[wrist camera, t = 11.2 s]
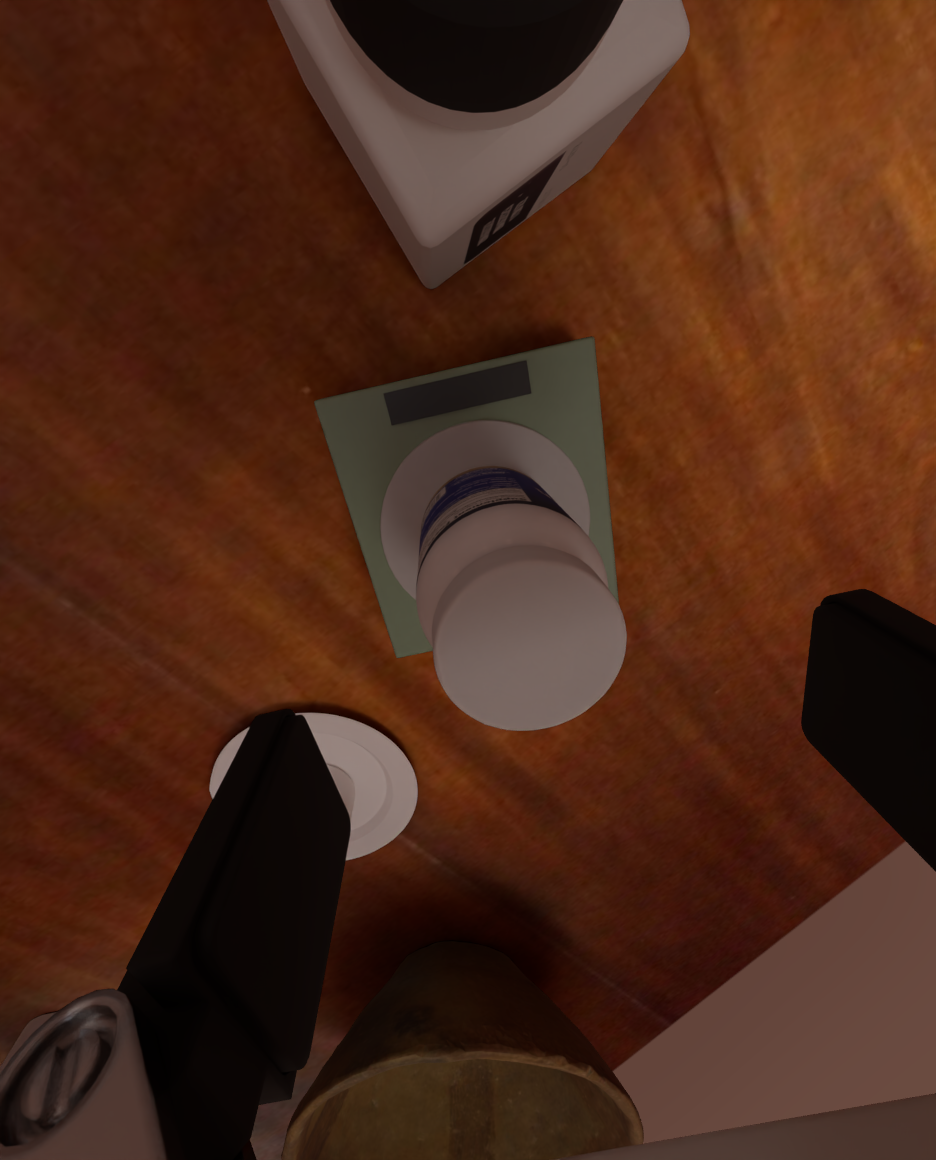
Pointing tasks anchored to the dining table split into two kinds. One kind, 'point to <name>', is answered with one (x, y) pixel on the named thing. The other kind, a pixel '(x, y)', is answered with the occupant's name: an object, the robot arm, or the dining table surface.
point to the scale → (466, 456)
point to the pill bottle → (515, 602)
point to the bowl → (462, 1072)
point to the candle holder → (355, 778)
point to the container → (476, 103)
